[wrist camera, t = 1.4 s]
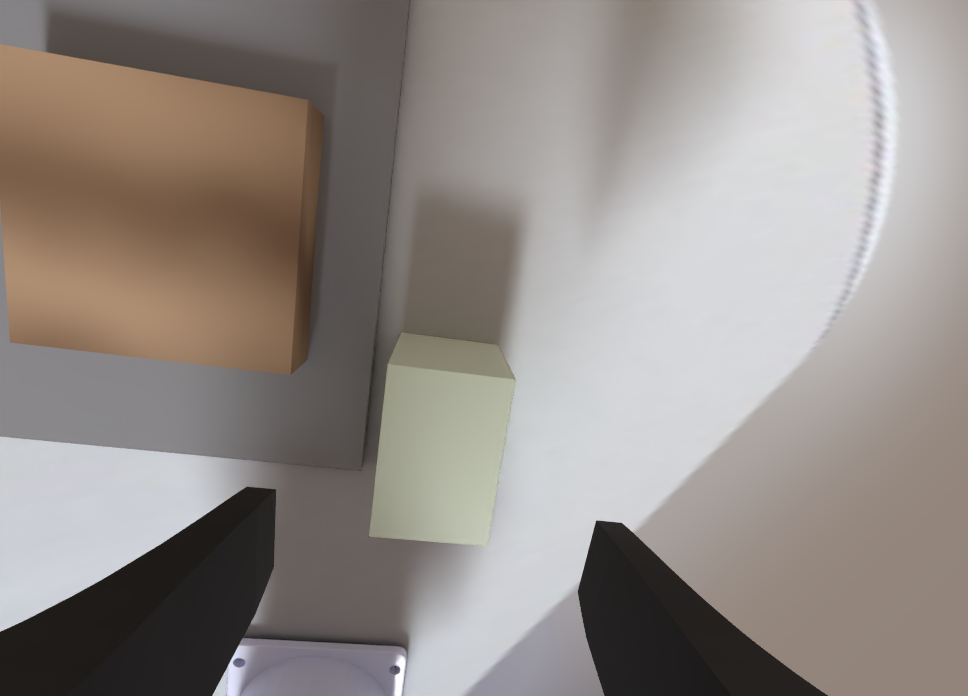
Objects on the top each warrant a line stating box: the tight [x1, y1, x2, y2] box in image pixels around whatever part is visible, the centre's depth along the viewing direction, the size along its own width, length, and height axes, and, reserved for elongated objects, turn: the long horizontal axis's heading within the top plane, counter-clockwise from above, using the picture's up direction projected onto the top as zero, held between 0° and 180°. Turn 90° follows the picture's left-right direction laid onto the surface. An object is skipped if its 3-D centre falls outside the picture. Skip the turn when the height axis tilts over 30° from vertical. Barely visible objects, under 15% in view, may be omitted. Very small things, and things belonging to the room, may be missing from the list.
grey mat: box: [0, 0, 410, 471], centre depth 17 cm, size 18×14×1 cm
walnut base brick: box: [0, 44, 324, 375], centre depth 16 cm, size 9×9×2 cm
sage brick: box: [369, 332, 516, 546], centre depth 18 cm, size 6×4×5 cm, turn 171°
